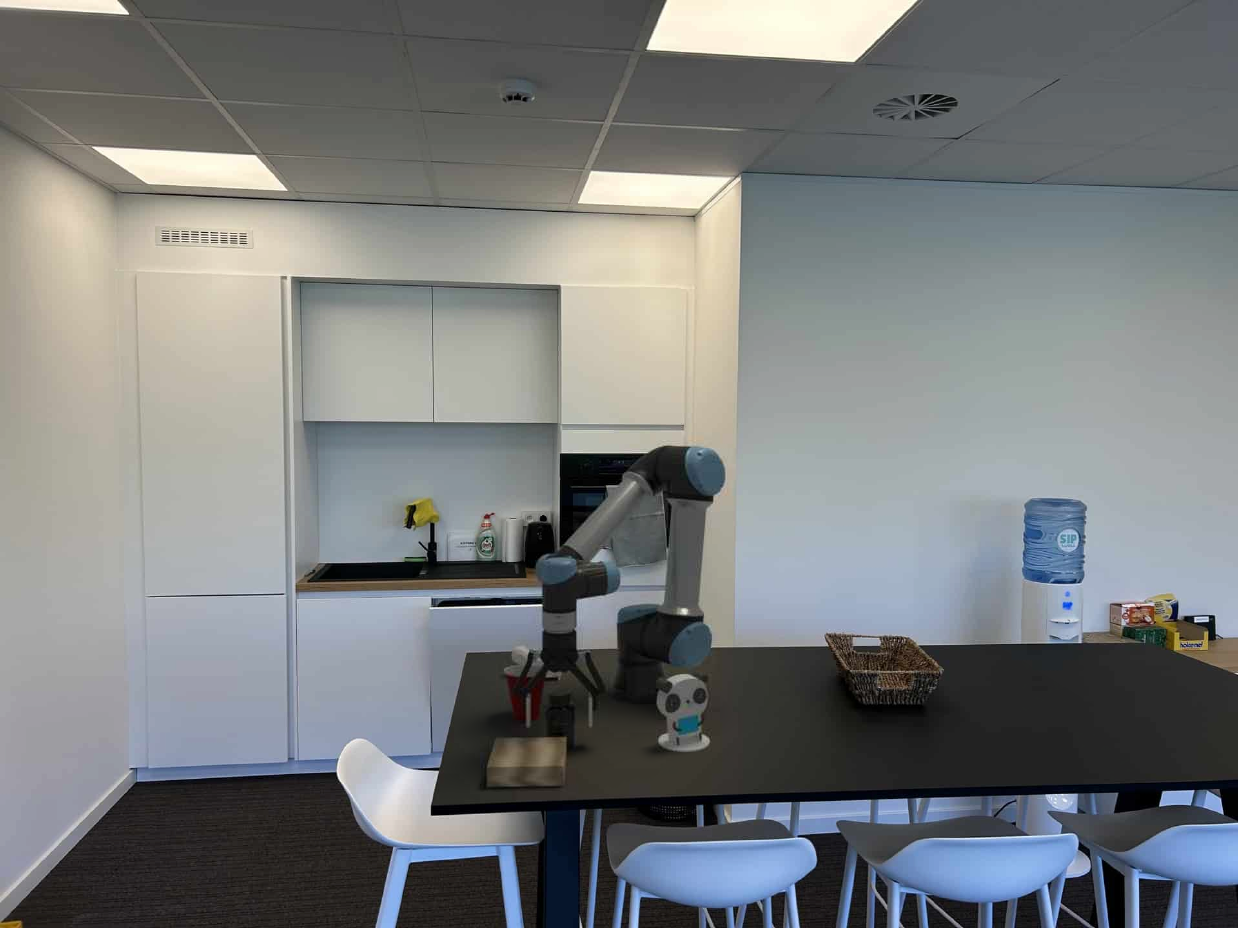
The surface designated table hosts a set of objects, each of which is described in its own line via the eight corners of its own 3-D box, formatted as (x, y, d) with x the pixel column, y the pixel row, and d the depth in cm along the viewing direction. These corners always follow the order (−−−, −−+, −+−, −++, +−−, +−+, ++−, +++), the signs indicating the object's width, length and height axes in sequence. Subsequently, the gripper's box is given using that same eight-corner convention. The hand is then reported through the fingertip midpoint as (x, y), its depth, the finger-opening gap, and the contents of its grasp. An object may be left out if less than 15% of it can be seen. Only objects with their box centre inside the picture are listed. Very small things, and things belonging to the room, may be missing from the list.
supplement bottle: (545, 740, 195) (544, 687, 194) (575, 738, 196) (575, 686, 195) (545, 752, 188) (544, 697, 188) (576, 750, 189) (576, 696, 188)
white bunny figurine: (558, 683, 245) (509, 663, 246) (569, 655, 244) (519, 635, 245) (554, 693, 237) (503, 672, 237) (565, 664, 236) (514, 644, 236)
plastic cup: (556, 711, 213) (555, 663, 212) (538, 727, 203) (537, 676, 202) (516, 707, 217) (515, 659, 216) (496, 722, 206) (495, 672, 206)
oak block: (566, 755, 187) (566, 736, 186) (563, 785, 172) (563, 765, 171) (496, 756, 186) (496, 737, 186) (487, 786, 171) (486, 766, 171)
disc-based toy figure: (672, 756, 186) (672, 687, 185) (646, 738, 196) (646, 672, 195) (719, 745, 191) (719, 678, 190) (691, 728, 201) (691, 665, 200)
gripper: (500, 633, 186) (500, 731, 188) (616, 633, 187) (616, 730, 188) (504, 625, 194) (504, 718, 195) (616, 625, 194) (616, 718, 196)
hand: (559, 724), depth 192 cm, fingers open, 13 cm apart
